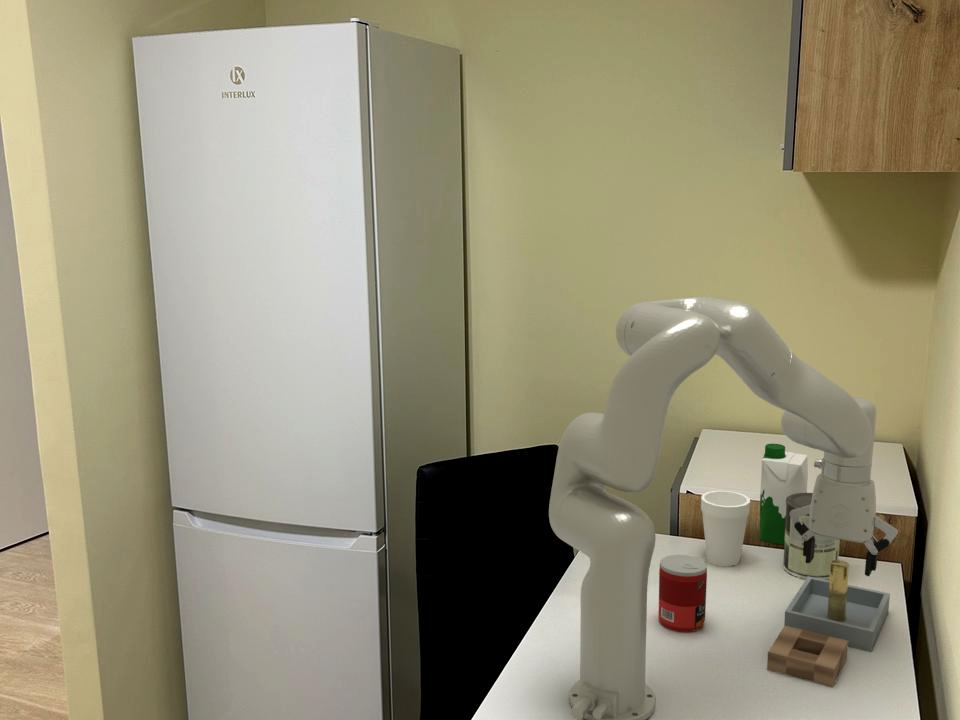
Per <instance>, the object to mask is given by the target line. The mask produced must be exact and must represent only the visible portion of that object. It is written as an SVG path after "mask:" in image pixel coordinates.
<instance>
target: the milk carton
mask: <svg viewBox="0 0 960 720" xmlns="http://www.w3.org/2000/svg"><path fill="white" fill-rule="evenodd" d="M808 457H809V456H808V454H803V453H795V452H791V451H786V446H785V445H784V444H781V443H780V444H779V443H767V444H765V447H764V454H763V457H762V459H761V476H760V496H759V541H761V542H765V543H772V544H778V545H784V543H785V524H786V498H787V497H788V496H790V495H792V494H796V493H808V478H809V477H808V473H809V472H808V465H809V464H808V463H809V462H808V459H809V458H808Z"/></svg>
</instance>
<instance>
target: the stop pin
mask: <svg viewBox="0 0 960 720" xmlns="http://www.w3.org/2000/svg"><path fill="white" fill-rule="evenodd" d="M849 570H850V564H849V563H848V562H847V561H844V560H839V559H838V560H833V561H831V562H830V577H829V580H828V581H829V593H828V609H827V618H828V619H830V620H834V621H838V622H842V621H845V619H846V604H847V589H848V585H849V572H850V571H849Z"/></svg>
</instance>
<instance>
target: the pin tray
mask: <svg viewBox="0 0 960 720" xmlns="http://www.w3.org/2000/svg"><path fill="white" fill-rule="evenodd" d="M828 593H829V580H824V579H819V578H814V577H809V576H808V577H807V578H806V579H804V582H803V583H802V585H801V586H800V588H799V589H798V591H797V592H796V594H795V595H794V597H793V598H792V600H791V602H790V603H789V604H788V606H787V607H786V609H785V611H784V624H783V625H784V626H789V627H793V628H798V629H802V630H806V631H810V632H814V633H818V634H823V635H827V636H831V637H835V638H839V639H843V640H847V641H848V647H851V648H854V649H859V650H862V651H867V652H871V653H872V652H873V650H874V647H875V645H876V642H877V640H878V637H879V636H880V633H881V630H882V628H883V626H884V624H885V621H886V619H887V617H888V614H889V611H890V609H889V608H890V598H891V594H890V593H889V592H885V591H879V590H876V589H875V590H874V589H870V588H866V587H860V586H856V585H852V584H851V585H850V584H848V589H847V604H846V619H845V621H842V622H838V621H834V620H830V619H828V618H827V609H828ZM784 626H783V627H784Z"/></svg>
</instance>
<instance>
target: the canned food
mask: <svg viewBox="0 0 960 720" xmlns="http://www.w3.org/2000/svg"><path fill="white" fill-rule="evenodd" d="M658 572H659V573H658V574H659V575H658V578H659V580H658V619H659V622H660V623H661V625H662V626H663V627H665V628H666V629H668V630H672V631H675V632H679V633H692V632H697V631H699V630H701V629H702V628H703V627H704V624H705V621H706V610H707V609H706V607H707V605H706V604H707V582H708V580H707V579H708V567H707V563H706V562H705V561H704V560H702V559H701V558H699V557H696V556H693V555H688V554H672V555H667V556H664V557H662V558H661V559H660V561H659V571H658Z"/></svg>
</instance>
